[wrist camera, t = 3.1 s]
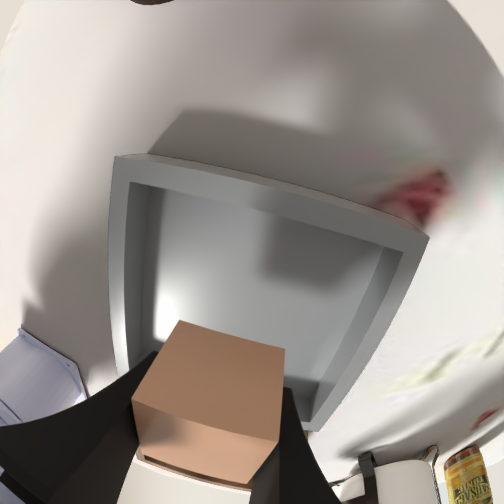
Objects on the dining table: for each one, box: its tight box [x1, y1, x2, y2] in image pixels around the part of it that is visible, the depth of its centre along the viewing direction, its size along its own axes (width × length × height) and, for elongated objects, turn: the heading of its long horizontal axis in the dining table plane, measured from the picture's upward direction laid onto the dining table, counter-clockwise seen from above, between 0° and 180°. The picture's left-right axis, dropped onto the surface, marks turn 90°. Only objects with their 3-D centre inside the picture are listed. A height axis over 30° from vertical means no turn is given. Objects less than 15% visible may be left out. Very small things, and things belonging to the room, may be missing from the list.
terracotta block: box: [131, 320, 285, 484], centre depth 8 cm, size 4×4×4 cm
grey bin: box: [108, 153, 430, 432], centre depth 14 cm, size 14×14×3 cm
